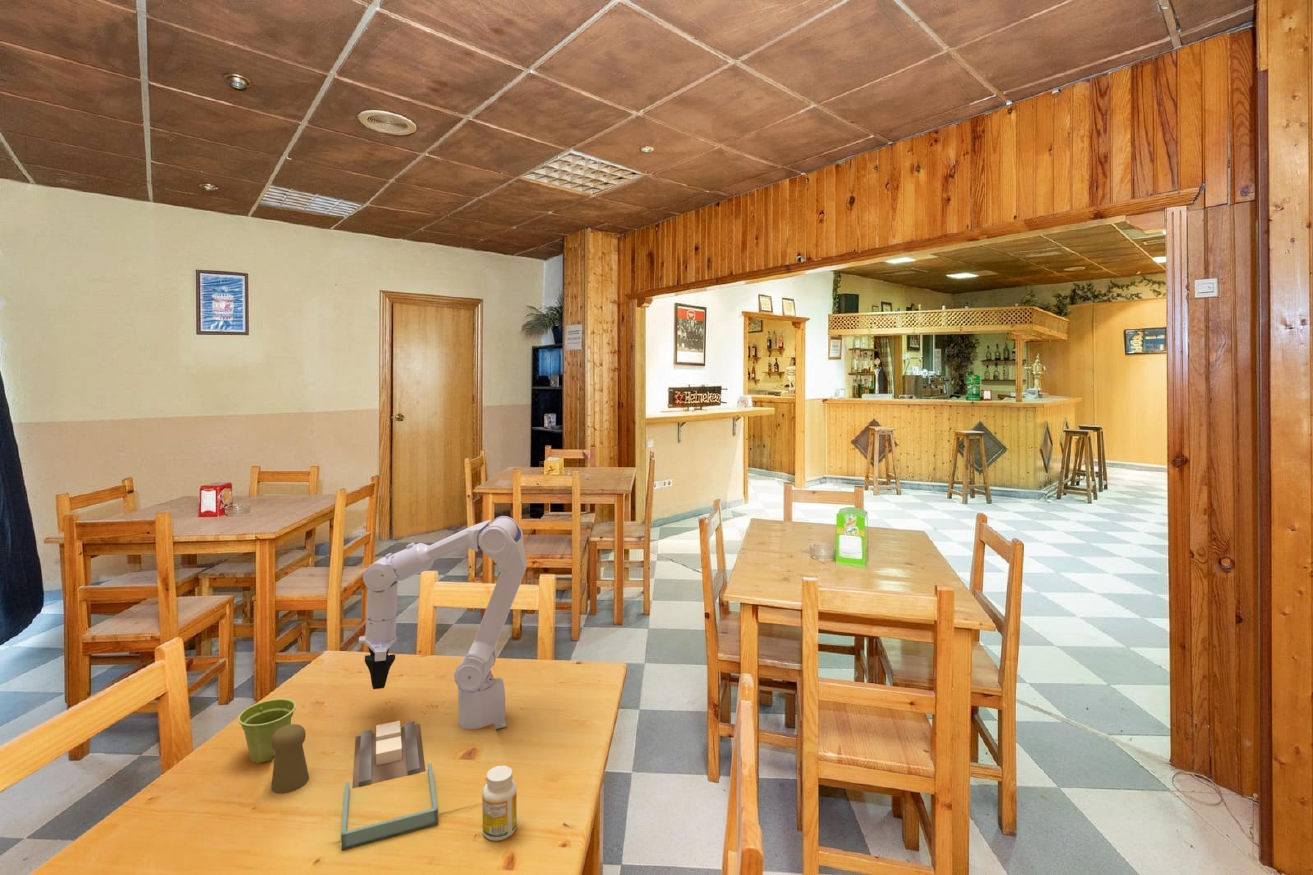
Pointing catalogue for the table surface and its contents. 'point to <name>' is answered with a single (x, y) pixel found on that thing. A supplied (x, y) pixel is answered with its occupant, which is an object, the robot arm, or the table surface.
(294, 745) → the cork
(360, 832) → the tray
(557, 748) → the table surface
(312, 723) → the table surface
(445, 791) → the table surface
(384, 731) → the chip
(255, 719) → the plant pot
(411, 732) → the slot board
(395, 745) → the chip
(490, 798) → the supplement bottle
